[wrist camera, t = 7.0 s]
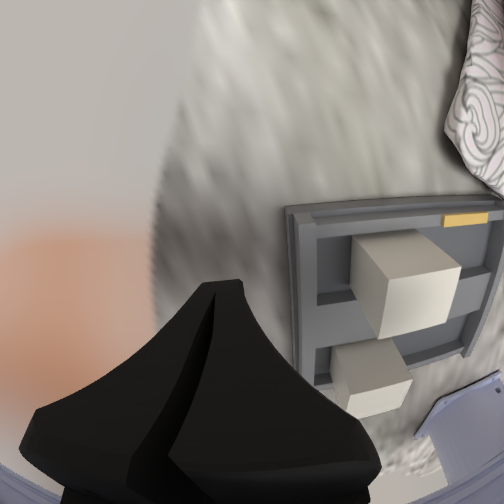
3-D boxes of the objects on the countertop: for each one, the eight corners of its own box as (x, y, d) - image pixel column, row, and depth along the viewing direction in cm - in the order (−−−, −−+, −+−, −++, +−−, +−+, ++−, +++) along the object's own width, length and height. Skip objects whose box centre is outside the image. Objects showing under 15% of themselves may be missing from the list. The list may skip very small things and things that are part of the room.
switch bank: (492, 194, 11) (518, 207, 9) (457, 334, 15) (471, 355, 13) (284, 206, 11) (292, 225, 9) (293, 372, 16) (298, 401, 14)
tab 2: (386, 329, 13) (413, 378, 10) (379, 360, 14) (399, 407, 11) (332, 340, 13) (350, 395, 10) (329, 370, 14) (343, 422, 11)
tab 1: (414, 228, 11) (461, 266, 7) (407, 276, 12) (445, 322, 8) (351, 234, 11) (388, 279, 8) (349, 285, 12) (377, 339, 9)
